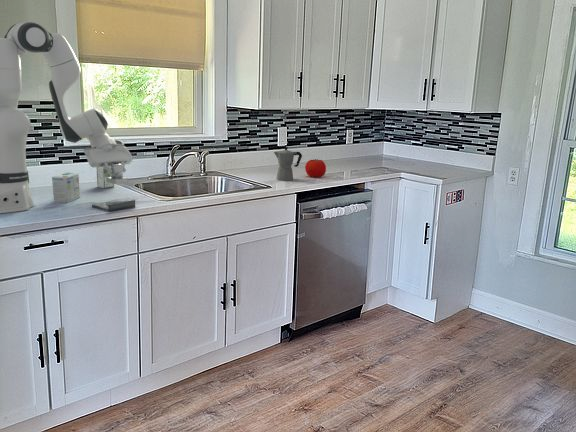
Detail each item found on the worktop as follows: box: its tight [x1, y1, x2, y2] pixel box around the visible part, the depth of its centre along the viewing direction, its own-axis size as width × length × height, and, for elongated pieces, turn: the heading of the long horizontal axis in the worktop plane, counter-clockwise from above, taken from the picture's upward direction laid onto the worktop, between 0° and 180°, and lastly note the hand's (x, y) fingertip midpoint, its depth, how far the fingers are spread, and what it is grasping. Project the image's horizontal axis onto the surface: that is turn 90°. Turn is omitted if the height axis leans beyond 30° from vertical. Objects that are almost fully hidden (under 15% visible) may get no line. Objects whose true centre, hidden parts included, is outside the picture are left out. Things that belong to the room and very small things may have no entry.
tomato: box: [304, 158, 327, 178], centre depth 302 cm, size 12×12×10 cm
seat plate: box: [92, 198, 136, 213], centre depth 218 cm, size 12×12×3 cm
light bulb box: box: [51, 172, 81, 204], centre depth 226 cm, size 11×7×11 cm, turn 174°
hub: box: [106, 162, 129, 185], centre depth 228 cm, size 6×6×8 cm
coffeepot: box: [273, 146, 303, 182], centre depth 290 cm, size 15×9×18 cm, turn 86°
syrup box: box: [96, 166, 115, 189], centre depth 252 cm, size 6×6×14 cm
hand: (118, 172), depth 228 cm, fingers closed on hub, 5 cm apart
